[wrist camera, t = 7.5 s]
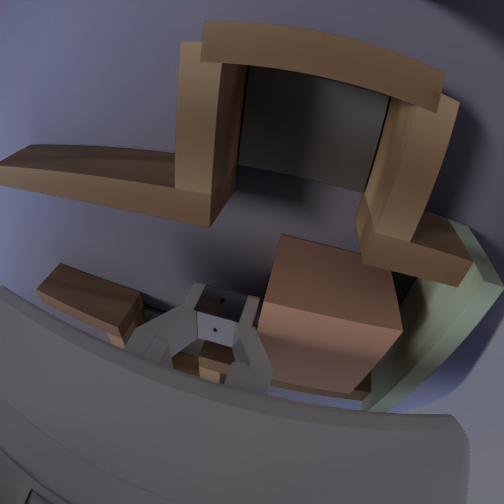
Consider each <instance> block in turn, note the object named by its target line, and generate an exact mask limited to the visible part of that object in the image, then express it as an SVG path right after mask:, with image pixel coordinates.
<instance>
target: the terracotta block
mask: <svg viewBox="0 0 504 504" xmlns="http://www.w3.org/2000/svg"><path fill="white" fill-rule="evenodd" d="M402 332H403V328H402V322H401V317H400V311H399V306H398V301H397V296H396V291H395V287H394V282H393V278H392V273H391V271H390V270H386V269H382V268H378V267H374V266H370V265H366V264H362V257H361V254H359V253H355V252H351V251H347V250H343V249H339V248H335V247H331V246H327V245H323V244H319V243H315V242H311V241H307V240H303V239H298V238H294V237H290V236H286V235H282V234H281V237H280V241H279V245H278V249H277V253H276V256H275V260H274V264H273V268H272V272H271V276H270V279H269V283H268V287H267V291H266V294H265V298H264V302H263V306H262V310H261V315H260V319H259V323H258V327H257V333H258V335H259V337H260V340H261V342H262V344H263V347H264V349H265V351H266V354H267V356H268V358H269V361H270V363H271V365H272V368H273V374H272V380H276V381H281V382H286V383H290V384H295V385H300V386H306V387H311V388H317V389H323V390H329V391H335V392H342V393H349V394H350V393H351V392H352V391H353V389H354V388H355V387H356V386H357V385H358V384H359V383H360V382H361V381H362V380H363V379H364V378H365V376H366V375H367V374H368V373H369V372H370V371H371V370H372V369H373V367H374V366H375V365H376V364H377V363H378V362H379V360H380V359H381V358H382V357H383V356H384V355H385V353H386V352H387V351H388V350H389V348H390V347H391V346H392V345H393V343H394V342H395V341H396V340H397V338H398V337H399V336H400V335H401V333H402Z"/></svg>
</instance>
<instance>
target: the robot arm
mask: <svg viewBox="0 0 504 504" xmlns="http://www.w3.org/2000/svg"><path fill="white" fill-rule="evenodd" d="M259 302H260V298H259V297H255V296H251V295H247V294H243V293H238V292H234V291H230V290H226V289H222V288H219V287H215V286H212V285H208V284H204V283H201V282H197V281H196V282H195V283H194V284H193V286H192V288H191V290H190V291H189V293H188V295H187V297H186V299H185V301H184V302H183V304H182V306H181V307H180V306H177V307H175V308H173V309H171V310H170V311H168V312H166V313H164V314H162V315H160V316H158V317H156V318H154V319H152V320H150V321H149V322H147V323H145V324H143V325H141V326H139V327H137V328H136V329H135V330H134V332H133V334H132V335H131V337H130V339H129V340H128V342H127V344H126V345H125V347H124V349H121V348H119V347H117V346H114V345H112V344H110V343H107V342H105V341H103V340H101V339H99V338H97V337H94V336H92V335H90V334H88V333H86V332H84V331H82V330H80V329H78V328H76V327H74V326H72V325H70V324H68V323H66V322H64V321H62V320H60V319H59V318H57V317H55V316H53V315H51V314H49V313H48V312H46V311H44V310H42V309H41V308H39V307H37V306H36V305H34V304H32V303H30V302H29V301H27V300H25V299H24V298H22V297H21V296H19V295H17V294H16V293H14V292H13V291H11V290H10V289H8V288H7V287H4V286H0V504H466V502H467V495H468V487H469V473H470V445H469V439H468V436H467V434H466V433H465V431H464V430H463V428H462V427H461V425H460V424H459V423H458V422H457V420H456V419H455V418H454V417H453V416H452V415H448V414H399V413H382V412H370V411H360V410H350V409H342V408H335V407H328V406H321V405H315V404H309V403H303V402H297V401H292V400H287V399H282V398H277V397H272V396H268V392H269V388H270V383H271V379H272V374H273V368H272V365H271V363H270V361H269V358H268V356H267V354H266V351H265V349H264V347H263V344H262V342H261V340H260V337H259V335H258V333H257V330H256V328H255V327H254V325H255V320H256V316H257V312H258V307H259ZM197 338H201V339H204V340H208V341H212V342H216V343H219V344H222V345H225V346H229V347H232V351H233V354H234V358H235V362H233V363H232V364H231V367H230V370H229V373H228V376H227V378H226V381H225V384H221V383H217V382H214V381H210V380H207V379H204V378H200V377H197V376H194V375H191V374H188V373H185V372H182V371H179V370H176V369H173V364H172V359H171V357H173V356H174V355H175V354H177V353H178V352H180V351H181V350H182V349H184V348H185V347H186V346H188V345H189V344H191V343H192V342H193V341H195V340H196V339H197Z"/></svg>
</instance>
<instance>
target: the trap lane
mask: <svg viewBox="0 0 504 504" xmlns="http://www.w3.org/2000/svg"><path fill="white" fill-rule="evenodd" d="M249 65H252V66H250V68H249ZM253 66H261V67H269V68H276V69H282V70H276V69H269V68H261V67H253ZM248 69H249V76H248ZM283 70H289V71H295V72H300V73H306V74H311V75H315V76H311V75H306V74H300V73H295V72H289V71H283ZM445 75H446V73H444V72H442V71H440V70H438V69H436V68H433V67H431V66H429V65H426V64H424V63H422V62H419V61H417V60H414V59H412V58H409V57H407V56H404V55H401V54H399V53H396V52H393V51H390V50H387V49H384V48H381V47H378V46H375V45H372V44H368V43H365V42H362V41H358V40H354V39H350V38H346V37H342V36H338V35H334V34H329V33H325V32H320V31H314V30H309V29H303V28H297V27H290V26H282V25H274V24H264V23H251V22H229V21H204V29H203V38H202V41H200V42H181V49H180V60H179V72H178V86H177V104H176V129H175V154H174V153H166V152H157V151H148V150H137V149H126V148H113V147H98V146H78V145H29V146H27V147H25V148H24V149H22V150H20V151H18V152H16V153H14V154H13V155H11V156H9V157H7V158H5V159H4V160H2V161H0V185H2V186H7V187H13V188H18V189H23V190H28V191H33V192H39V193H44V194H49V195H54V196H59V197H64V198H69V199H74V200H79V201H84V202H89V203H94V204H99V205H103V206H108V207H113V208H118V209H123V210H127V211H132V212H137V213H142V214H146V215H151V216H156V217H160V218H165V219H170V220H174V221H179V222H184V223H188V224H193V225H197V226H202V227H206V228H210V227H211V225H212V224H213V222H214V221H215V219H216V218H217V216H218V214H219V213H220V211H221V210H222V208H223V207H224V205H225V204H226V202H227V201H228V200H229V198H230V197H231V195H232V194H233V192H234V191H235V183H236V173H237V163H238V165H242V166H248V167H253V168H259V169H264V170H269V171H274V172H278V173H283V174H288V175H292V176H297V177H301V178H306V179H310V180H314V181H319V182H323V183H327V184H331V185H335V186H339V187H343V188H346V189H350V190H354V191H358V192H361V193H363V191H364V193H363V196H362V199H361V202H360V205H359V208H358V211H357V214H356V217H355V219H356V225H357V231H358V237H359V243H360V250H361V257H362V264H366V265H370V266H374V267H378V268H382V269H386V270H390V271H394V272H398V273H402V274H406V275H410V276H414V277H417V278H416V280H415V282H414V283H413V285H412V287H411V288H410V290H409V292H408V293H407V295H406V297H405V298H404V300H403V301H402V303H401V305H400V306H399V311H400V317H401V322H402V328H403V332H402V333H401V335H400V336H399V337H398V338H397V340H396V341H395V342H394V343H393V345H392V346H391V347H390V348H389V350H388V351H387V352H386V353H385V355H384V356H383V357H382V358H381V359H380V360H379V362H378V363H377V364H376V365H375V366H374V367H373V369H372V370H371V371H370V372H369V373H368V374H367V375H366V376H365V378H364V379H363V380H362V381H361V382H360V383H359V384H358V385H357V386H356V387H355V388H354V389H353V391H352V392H351V393H350V394H349V393H342V392H335V391H329V390H323V389H317V388H311V387H306V386H300V385H295V384H290V383H286V382H281V381H276V380H272V379H271V383H270V385H271V386H275V387H280V388H285V389H290V390H295V391H300V392H305V393H311V394H317V395H323V396H330V397H336V398H344V399H351V400H360V401H362V411H370V412H382V413H386V412H388V411H389V410H390V409H392V408H393V407H394V406H395V405H397V404H398V403H399V402H400V401H401V400H403V399H404V398H405V397H406V396H407V395H408V394H410V393H411V392H412V391H413V390H414V389H415V388H416V387H418V386H419V385H420V384H421V383H422V382H423V381H424V380H425V379H426V378H427V377H428V376H430V375H431V374H432V373H433V372H434V371H435V370H436V369H437V368H438V367H439V366H440V365H441V364H442V363H443V362H444V361H445V360H446V359H447V358H448V357H449V356H450V355H451V354H452V352H453V351H454V350H455V349H456V348H457V347H458V346H459V345H460V344H461V343H462V342H463V340H464V339H465V338H466V337H467V336H468V335H469V334H470V332H471V331H472V330H473V329H474V328H475V326H476V325H477V324H478V323H479V322H480V320H481V319H482V318H483V317H484V315H485V314H486V313H487V311H488V310H489V309H490V307H491V306H492V305H493V303H494V302H495V301H496V299H497V298H498V297H499V295H500V294H501V292H502V291H503V289H504V285H503V283H502V281H501V279H500V277H499V276H498V274H497V272H496V270H495V268H494V267H493V265H492V263H491V262H490V260H489V258H488V257H487V255H486V253H485V252H484V250H483V249H482V247H481V245H480V244H479V242H478V241H477V239H476V238H475V236H474V235H473V233H472V232H471V230H470V229H469V228H468V226H467V225H464V224H461V223H459V222H456V221H453V220H451V219H448V218H445V217H442V216H440V215H437V214H434V213H431V212H428V211H425V210H424V209H425V207H426V204H427V202H428V199H429V197H430V194H431V192H432V189H433V187H434V184H435V181H436V179H437V176H438V173H439V170H440V168H441V165H442V162H443V159H444V156H445V153H446V150H447V147H448V144H449V140H450V137H451V134H452V130H453V127H454V123H455V119H456V116H457V112H458V108H459V104H460V102H458V101H456V100H454V99H452V98H450V97H448V96H446V95H444V94H442V89H443V84H444V80H445ZM316 76H320V77H325V78H329V79H333V80H337V81H333V80H329V79H325V78H320V77H316ZM247 77H248V83H247ZM338 81H341V82H338ZM342 82H345V83H349V84H353V85H357V86H360V87H364V88H367V89H370V90H373V91H370V90H367V89H364V88H360V87H357V86H353V85H349V84H345V83H342ZM246 85H247V91H246ZM374 91H377V92H380V93H383V94H386V95H389V96H390V99H389V96H386V95H383V94H380V93H377V92H374ZM245 93H246V100H245ZM388 100H389V103H388ZM244 101H245V108H244ZM387 104H388V107H387ZM386 109H387V112H386ZM243 110H244V116H243ZM385 113H386V116H385ZM384 117H385V120H384ZM242 118H243V125H242ZM383 121H384V124H383ZM382 125H383V128H382ZM241 127H242V134H241ZM381 129H382V131H381ZM380 133H381V135H380ZM240 136H241V143H240ZM379 136H380V139H379ZM378 140H379V143H378ZM377 144H378V146H377ZM239 145H240V152H239ZM376 147H377V150H376ZM375 151H376V153H375ZM238 154H239V161H238ZM374 154H375V157H374ZM373 158H374V160H373ZM372 161H373V164H372ZM371 165H372V167H371ZM370 168H371V171H370ZM369 172H370V174H369ZM368 175H369V177H368ZM367 178H368V180H367ZM366 181H367V184H366ZM365 185H366V187H365ZM364 188H365V190H364ZM36 290H37V292H38V294H39V296H40V298H41V300H42V301H43V302H45V303H47V304H49V305H50V306H52V307H54V308H56V309H58V310H60V311H62V312H64V313H66V314H68V315H70V316H72V317H74V318H76V319H78V320H80V321H82V322H85V323H87V324H89V325H91V326H93V327H95V328H98V329H100V330H102V331H104V332H107V335H108V337H109V339H110V341H111V344H112V345H114V346H117V347H119V348H121V349H124V347H125V345H126V344H127V342H128V340H129V339H130V337H131V335H132V334H133V332H134V330H135V329H136V328H137V327H139V326H141V325H143V324H145V323H147V322H149V321H150V320H152V319H154V318H156V317H158V316H160V315H162V314H164V313H165V312H162V311H159V310H156V309H153V308H150V307H147V306H145V307H144V305H143V300H142V296H141V292H138V291H135V290H132V289H129V288H126V287H123V286H120V285H118V284H115V283H112V282H109V281H106V280H103V279H101V278H98V277H95V276H92V275H90V274H87V273H84V272H82V271H79V270H76V269H74V268H71V267H69V266H66V265H63V264H61V263H60V264H59V265H58V266H57V267H56V268H55V269H54V270H53V271H52V273H51V274H50V275H49V276H48V277H47V278H46V279H45V280H44V281H43V282H42V283H41V285H40V286H39V287H38V288H37V289H36ZM254 327H255V328H256V330H257V327H258V326H257V325H254ZM171 359H172V364H173V369H176V370H179V371H182V372H185V373H188V374H191V375H194V376H197V377H200V378H204V379H207V380H210V381H214V382H217V383H221V384H224V383H225V380H226V377H227V375H228V373H229V370H230V367H231V364H232V363H233V362H235V358H234V354H233V351H232V347H229V346H225V345H222V344H219V343H216V342H212V341H208V340H204V339H201V338H197V339H196V340H195V341H193V342H192V343H191V344H189V345H188V346H186V347H185V348H184V349H182V350H181V351H180V352H178V353H177V354H175V355H174V356H173V357H171Z"/></svg>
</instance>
